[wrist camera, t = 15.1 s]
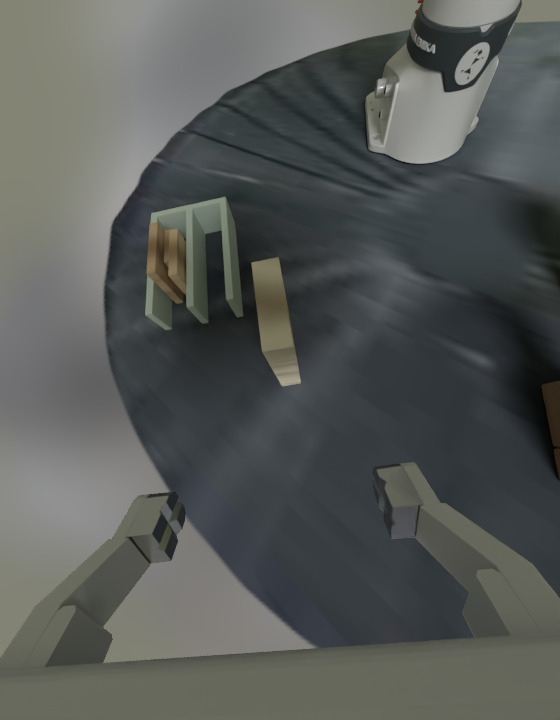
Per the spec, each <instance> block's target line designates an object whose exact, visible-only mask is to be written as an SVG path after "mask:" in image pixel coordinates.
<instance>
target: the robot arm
mask: <svg viewBox="0 0 560 720" xmlns="http://www.w3.org/2000/svg"><path fill="white" fill-rule="evenodd" d="M418 3H422V4H421V5H420V7H419V9H418V10H416V12H415V13H416V14H417V15H416V17H415V19H414V21H413V23H412V26H411V31H410V33H409V36H408V39H407V43H406V44H405V45H404V46H403V47H402V48H401V49H400V50H399V51H398V52H397V53H396V54H394V55H393V56H392V57H391V58H390V59H389V60H388V62H387V63H386V65H385V68H384V72H383V76H382V79H378V80H377V81H376V86H375V91H373V92H372V93H370V94H369V95H368V96H367V97H366V101H365V113H366V127H367V142H368V149H369V150H370V151H373V152H377V153H384V154H387V155H389V156H391V157H393V158H395V159H397V160H400V161H403V162H407V163H416V164H423V163H432V162H436V161H440V160H443V159H445V158H448V157H449V156H451V155H453V154H454V153H456V152H457V151H458V150H459V149H460V148H461V146H462V145H463V143H464V140H465V138H466V136H467V135H468V134H469V133H470V132H471V131H473V130H474V129H475V127H476V125H477V122H478V120H479V119H478V117H477V116H476V114H477V112H478V110H479V107H480V105H481V103H482V101H483V98H484V96H485V94H486V91H487V89H488V87H489V84H490V82H491V80H492V77H493V75H494V73H495V70H496V68H497V65H498V58H497V54H498V53H499V52H500V51H501V49H502V47H503V45H504V43H505V40H506V38H507V36H508V35H509V34H510V32H511V30H512V28H513V26H514V24H515V19H516V17H517V15H518V13H519V10H520V8H521V5H522V1H521V0H419V1H418ZM373 475H374V477H375V479H374V481H373V488H374V493H375V497H376V500H377V503H378V506H379V508H381V509H382V510H383V511H384V522H385V524H386V527H387V529H388V532H389V534H390V537H391V539H397V538H411V537H416V539H417V540H418V541H419V542H420V543H421V544H422V545H423V546H424V547H425V548H426V549H427V550H428V551H429V552H430V553H431V554H432V555H433V556H434V557H435V558H436V559H437V560H438V561H439V562H440V563H441V564H442V565H443V566H444V567H445V568H446V569H447V570H448V571H449V572H450V573H451V574H452V575H453V576H454V577H455V578H456V579H457V580H458V581H459V582H460V583H461V584H462V585H463V587H464V588H465V589H466V590H467V591H468V592H469V595H468V598H467V600H466V603H465V606H464V609H463V612H462V613H463V615H464V617H465V619H466V622H467V624H468V626H469V628H470V630H471V632H472V634H473V636H474V638H463V639H448V640H434V641H419V642H404V643H389V644H375V645H360V646H345V647H331V648H316V649H303V650H302V649H301V650H287V651H272V652H258V653H243V654H228V655H213V656H200V657H184V658H169V659H154V660H140V661H125V662H111V663H103V661H104V659H105V657H106V654H107V652H108V649H109V647H110V644H111V642H112V634H110V633H109V632H108V631H107V630H105V629H104V628H103V626H104V625H105V624H106V622H107V621H108V620H109V618H110V617H111V616H112V614H113V613H114V612H115V611H116V609H117V608H118V607H119V605H120V604H121V603H122V601H123V600H124V599H125V597H126V596H127V595H128V594H129V592H130V591H131V590H132V588H133V587H134V586H135V584H136V583H137V582H138V580H139V579H140V578H141V577H142V575H143V574H144V573H145V571H146V570H147V569H148V567H149V566H150V564H151V563H159V562H165V561H171V560H172V557H173V554H174V551H175V548H176V545H177V542H178V540H177V536H176V535H177V534H178V533H179V532H180V531H181V530H182V527H183V524H184V522H185V508H184V506H183V504H182V503H180V502H179V501H177V500H178V495H177V494H176V492H169V493H158V494H148V495H141V496H138V497H137V498H136V499H135V500H134V501H133V503H132V505H131V507H130V508H129V510H128V512H127V514H126V515H125V517H124V519H123V521H122V522H121V524H120V526H119V527H118V529H117V531H116V533H115V534H114V536H113V538H112V539H110V540H108V541H106V542H105V543H104V544H103V545H102V546H101V547H100V548H99V549H98V550H97V551H95V552H94V553H93V554H92V555H91V556H90V557H89V558H88V559H87V560H86V561H85V562H83V563H82V564H81V565H80V566H79V567H78V568H77V569H76V570H75V571H74V572H72V573H71V574H70V575H69V576H68V577H67V578H66V579H65V580H64V581H63V582H62V583H61V584H59V585H58V586H57V587H56V588H55V589H54V590H53V591H52V592H51V593H50V594H48V596H46V597H45V598H44V599H43V600H42V601H41V602H40V603H39V604H38V605H36V606H35V607H34V609H33V610H32V612H31V613H30V615H29V616H28V618H27V619H26V621H25V622H24V624H23V625H22V627H21V628H20V630H19V631H18V633H17V634H16V636H15V637H14V638H13V640H12V641H11V643H10V644H9V646H8V648H7V649H6V650H5V652H4V653H3V655H2V656H1V658H0V720H560V598H559V597H558V596H557V595H556V593H555V592H554V591H553V589H552V588H551V587H550V586H549V584H548V583H547V582H546V581H545V579H544V578H543V577H542V576H541V574H540V573H539V572H538V570H537V569H536V568H535V567H534V565H533V564H532V563H530V562H529V561H527V560H526V559H525V558H523V557H522V556H520V555H519V554H517V553H516V552H515V551H513V550H512V549H510V548H509V547H507V546H506V545H505V544H503V543H502V542H500V541H499V540H497V539H496V538H494V537H493V536H492V535H490V534H489V533H487V532H486V531H484V530H483V529H482V528H480V527H479V526H477V525H476V524H474V523H473V522H472V521H470V520H469V519H467V518H466V517H464V516H463V515H462V514H460V513H459V512H457V511H456V510H454V509H453V508H451V507H450V506H449V505H447V504H446V503H440V501H439V500H438V498H437V497H436V495H435V493H434V492H433V490H432V489H431V487H430V486H429V484H428V482H427V481H426V479H425V478H424V476H423V474H422V473H421V471H420V470H419V468H418V466H417V465H416V464H415V463H414V462H410V463H403V464H392V465H385V466H378V467H374V468H373Z"/></svg>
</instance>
